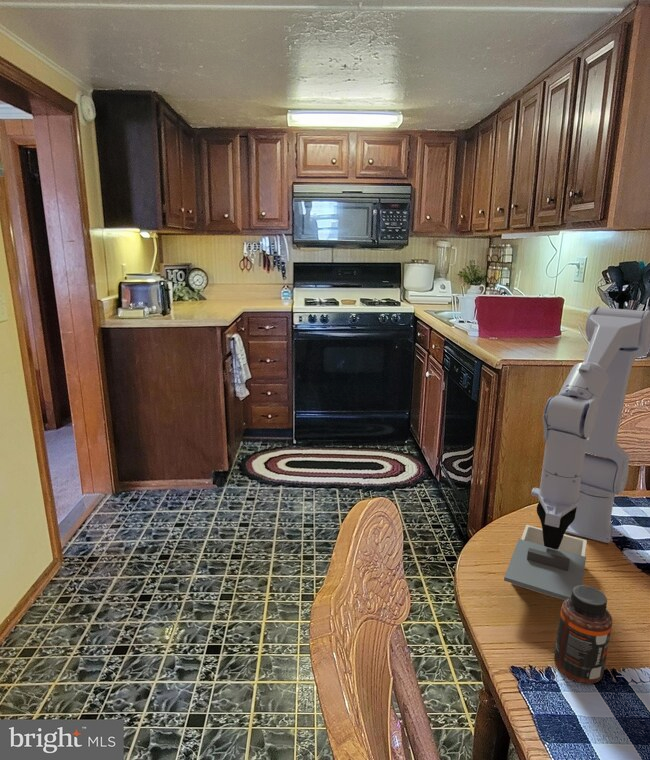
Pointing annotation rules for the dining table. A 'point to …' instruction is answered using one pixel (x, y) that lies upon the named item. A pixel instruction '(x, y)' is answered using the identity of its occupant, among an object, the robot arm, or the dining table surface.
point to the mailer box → (566, 545)
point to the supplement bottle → (583, 635)
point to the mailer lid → (545, 569)
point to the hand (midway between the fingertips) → (551, 546)
